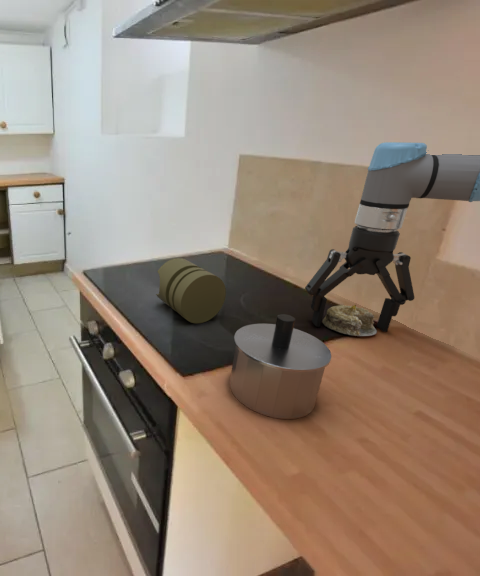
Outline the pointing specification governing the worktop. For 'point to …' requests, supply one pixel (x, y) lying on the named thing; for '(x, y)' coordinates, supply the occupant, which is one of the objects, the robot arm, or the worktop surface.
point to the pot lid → (282, 346)
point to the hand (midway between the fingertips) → (348, 326)
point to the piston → (191, 290)
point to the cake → (350, 320)
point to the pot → (273, 388)
